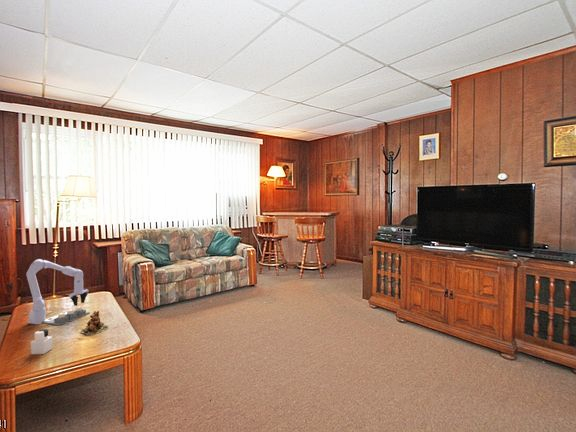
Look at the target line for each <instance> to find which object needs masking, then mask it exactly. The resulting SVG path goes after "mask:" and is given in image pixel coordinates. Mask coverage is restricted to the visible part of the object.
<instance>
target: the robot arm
mask: <svg viewBox="0 0 576 432" xmlns="http://www.w3.org/2000/svg"><path fill="white" fill-rule="evenodd" d="M43 269H53V270H57V271H60V272H61V273H62V274H64V275H65V276H70V277H74V281H73V285H74V286H73V292H72V293H70V294H68V298H69V299H71V301H72V303H73V306H75V307H76V306H77V307H78V300H79V297H80V303H81V304H85V301H86V299H87V298H86V297H88V293H89V289H87V288H86V289H84V272H83V270H82V269H79V268H74V267H72V266H70V265H66V266H63V265H60V264H57V263H55V262H51V261H49V260H47V259H42V258H38V259H35V260H34V261H32V263H30V266H29V268H28V269H27V270H26V271H27V272H26V275H25V276H26V279H27V283H28V285H29V290H30V293H31V296H32V302H33V304H32V309H31V310H30V311H29V314H28V322H27V324H30V325H31V324H32V325H41V324H43V323H42V322H43V321H44V320H46V319H47V313H46V312H47V310H46V309H47V308H46V307H45V304H46V301H45V299H44V298H43V297H42V294H41V291H40V286H39V282H38V279H37V275H36V274H37V273H38V272H39V271H41V270H43Z"/></svg>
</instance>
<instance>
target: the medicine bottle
mask: <svg viewBox="0 0 576 432" xmlns="http://www.w3.org/2000/svg"><path fill="white" fill-rule="evenodd" d="M52 349H53V336H49V329H45V328H43V329H39V330H37V331H36V330H35V332H34V339H33V340H31V341H30V354H31V355H45V354H47V352H49V351H50V350H52Z"/></svg>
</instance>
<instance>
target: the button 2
mask: <svg viewBox="0 0 576 432" xmlns="http://www.w3.org/2000/svg"><path fill="white" fill-rule="evenodd" d="M83 308H84V307H83V306H77V307H76V306H75V311H76V312H81V311H83V310H84V309H83Z"/></svg>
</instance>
